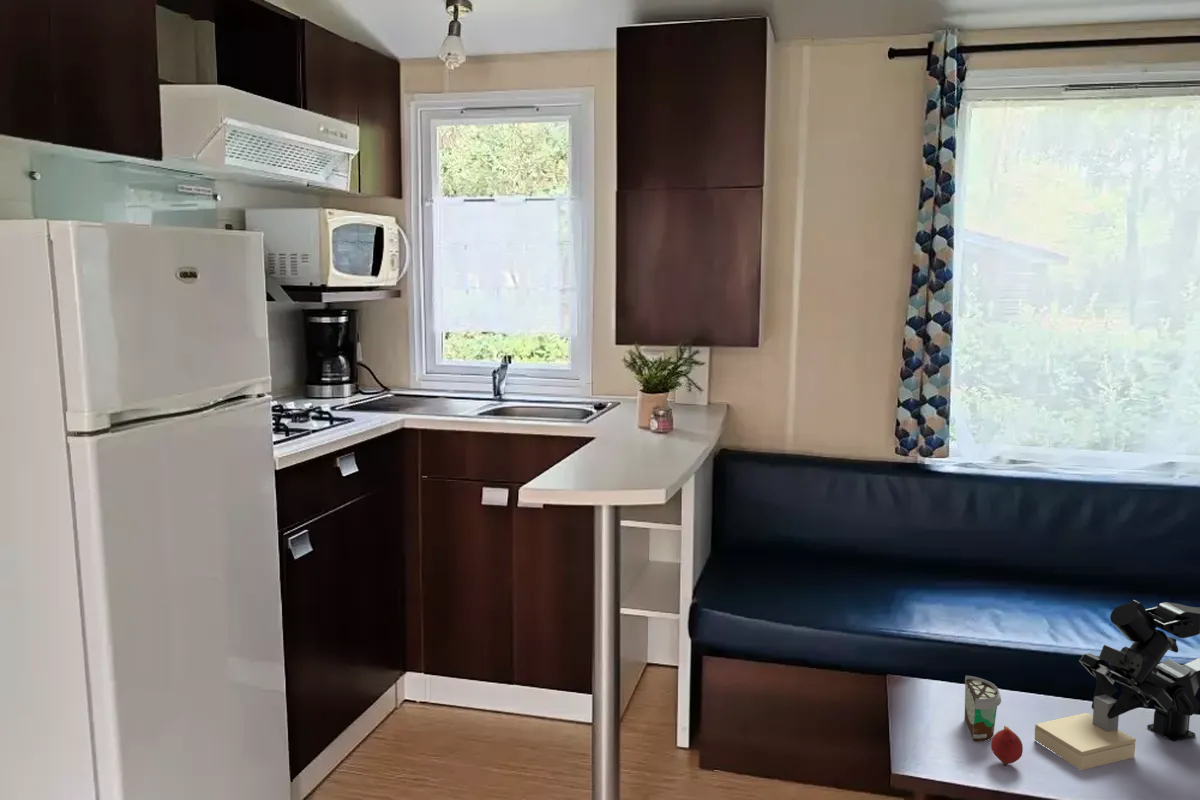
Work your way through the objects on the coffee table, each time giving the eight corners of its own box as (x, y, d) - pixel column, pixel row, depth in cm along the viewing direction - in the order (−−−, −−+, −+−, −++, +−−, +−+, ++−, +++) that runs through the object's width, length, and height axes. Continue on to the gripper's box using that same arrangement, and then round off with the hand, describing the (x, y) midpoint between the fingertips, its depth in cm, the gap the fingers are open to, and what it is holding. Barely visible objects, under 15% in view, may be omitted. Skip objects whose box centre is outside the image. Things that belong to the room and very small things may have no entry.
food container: (1005, 747, 192) (1007, 702, 190) (974, 745, 193) (976, 700, 191) (992, 719, 204) (994, 676, 202) (963, 717, 205) (965, 674, 203)
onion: (1021, 760, 187) (1023, 722, 186) (1021, 774, 182) (1023, 736, 180) (990, 754, 189) (992, 717, 188) (989, 767, 184) (991, 730, 183)
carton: (1086, 730, 198) (1086, 716, 198) (1134, 757, 187) (1135, 743, 187) (1034, 741, 194) (1035, 728, 193) (1080, 770, 183) (1081, 756, 182)
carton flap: (1086, 716, 198) (1088, 685, 197) (1135, 742, 187) (1137, 710, 186) (1035, 727, 193) (1036, 696, 192) (1081, 755, 182) (1083, 722, 181)
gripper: (1088, 616, 199) (1045, 673, 197) (1166, 649, 181) (1119, 712, 179) (1114, 646, 202) (1072, 701, 200) (1192, 681, 185) (1147, 742, 183)
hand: (1100, 713), depth 191 cm, fingers closed on carton flap, 3 cm apart
